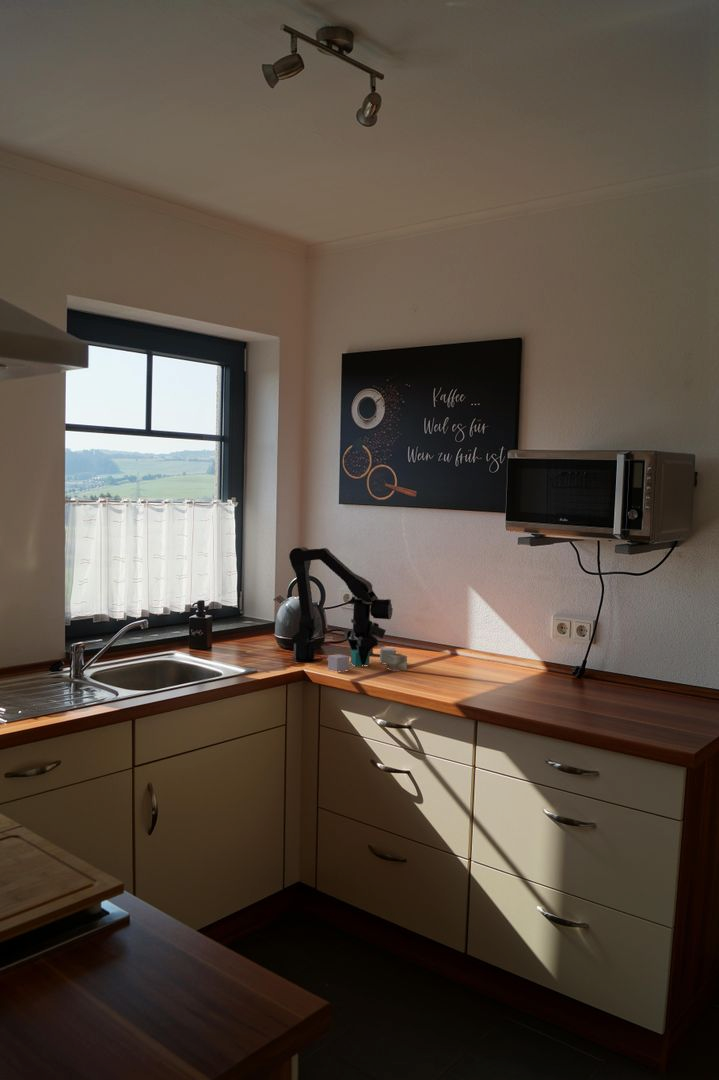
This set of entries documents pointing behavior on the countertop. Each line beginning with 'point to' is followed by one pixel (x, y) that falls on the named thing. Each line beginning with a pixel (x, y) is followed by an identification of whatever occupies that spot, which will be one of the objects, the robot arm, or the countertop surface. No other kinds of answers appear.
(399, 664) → the grey-green cube
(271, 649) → the countertop surface
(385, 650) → the grey cube
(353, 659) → the teal cube
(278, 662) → the countertop surface
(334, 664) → the lilac cube
